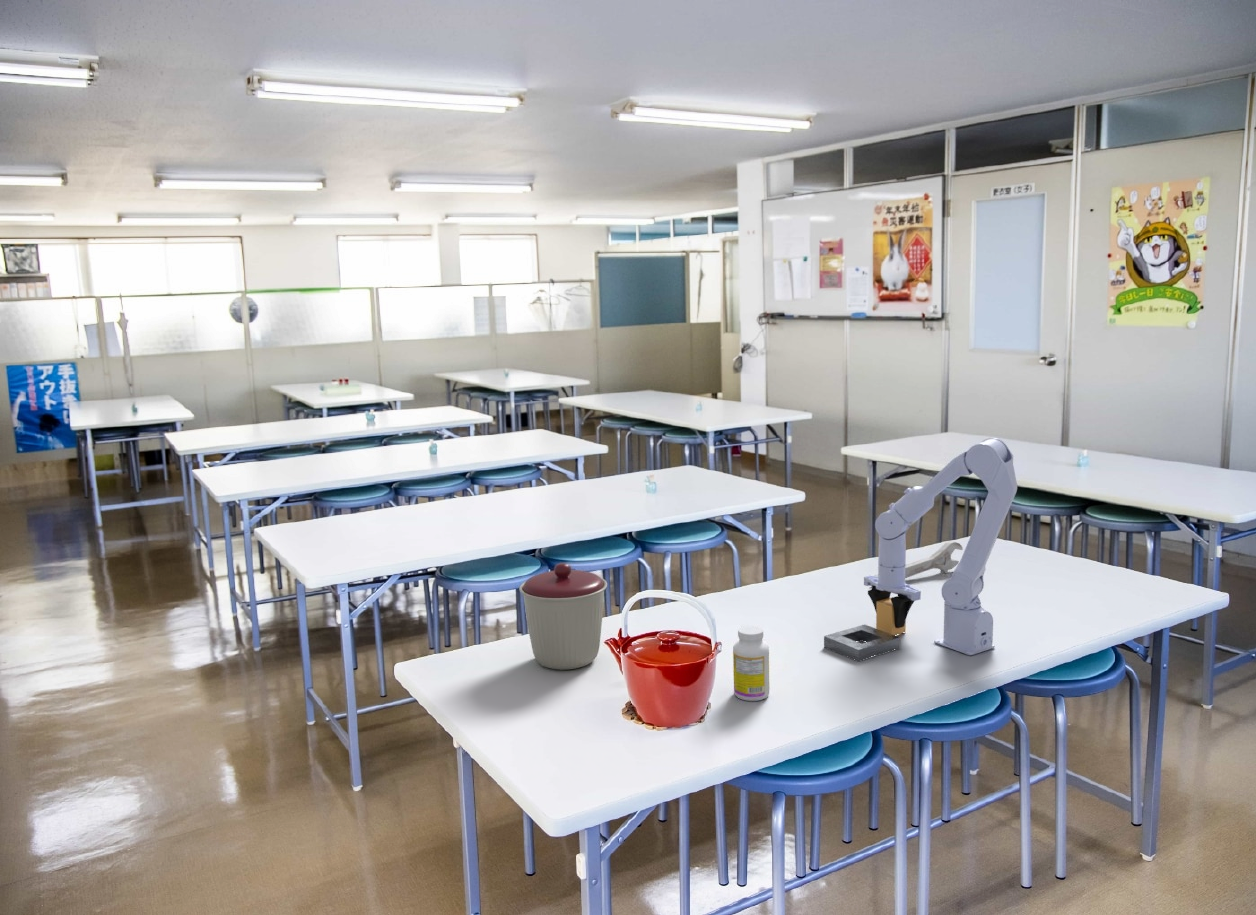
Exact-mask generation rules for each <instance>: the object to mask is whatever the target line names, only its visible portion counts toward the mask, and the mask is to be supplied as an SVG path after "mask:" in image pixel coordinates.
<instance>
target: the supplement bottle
mask: <svg viewBox="0 0 1256 915" xmlns="http://www.w3.org/2000/svg"><path fill="white" fill-rule="evenodd" d="M737 637H738V639H739V640H737V641H736V642H735V643H734V644H733V648H732V649H733V651H732V654H733V656H732V658H733V660H732V661H733V693H734V695H735V697H737V698H738V699H740V700H742V701H746V702H747V701H748V702H759V701H762V700H764V699H766V698H768V697H769V695H770V648H769V644H768V643H767V642H766V641H765V640H764V639H763V638H764V629H763V628H762V627H759V626H754V625H747V626H741V627H739V628H738V629H737Z"/></svg>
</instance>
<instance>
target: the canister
mask: <svg viewBox="0 0 1256 915" xmlns="http://www.w3.org/2000/svg"><path fill="white" fill-rule="evenodd" d="M571 566H572V565H570V564H569V563H566V562H559V563H557V564H556V565H555V566H554V568H553V570H551V571H545V572H541V573H538V574H535V575H533V576H530V577H529V578H528V579H527V580H525V581H524V582H522V583H521V584H520V586H519V588H518V589H519V592H520V593H521V595H522V596H523V602H524V603H523V604H524V611H525V616H526V623H527V629H528V633H529V634H528V635H529V639H530V640H529V641H530V643H531V649H532V653H533V656H534V658H535V660H536V661H537V662H538V664H540V666H542V667H545V668H549V669H553V670H557V671H559V670H563V671H564V670H567V671H568V670H576V669H578V668H579V669H580V668H583V667H585V666H588V665H590V664H591V663H593V661H595V659H596V658H597V657H598V654H599V650H600V645H601V644H600V643H601V635H602V624H603V614H604V613H603V612H604V610H603V609H604V598H605V596H604V595H605V590H606V589H607V588H608V582H607V580H606V579H604V578H603V577H601V576H599V575H597V574H596V573H592V572H590V571H586V570H581V569H580V570H578V569H577V570H576V569H572V567H571Z"/></svg>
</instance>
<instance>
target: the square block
mask: <svg viewBox="0 0 1256 915" xmlns="http://www.w3.org/2000/svg"><path fill="white" fill-rule="evenodd" d="M891 598H892V597H890V598H887V599H883V600H880V601H877V609H876V611H875V613H876V617H875V618H876V623H875V624H876V625H875V626H876V627H875V628H876V629H878V630H881V631H884V632H887V633H889V634H892V635H897V634H901V633H903V632H905V633H906V627H907V626H906V621H907V620H906V621H905V624H904V627H901V628H895V622H894V609H893V605H892V602H891ZM901 635H902V634H901Z"/></svg>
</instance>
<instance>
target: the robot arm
mask: <svg viewBox="0 0 1256 915" xmlns="http://www.w3.org/2000/svg"><path fill="white" fill-rule="evenodd" d="M972 474H974V475H975V476H976V477H977V478H979V480H981V482H982V484H983V485H984V487H985V488H986V490H987V491H988V492H987V495H986V497H985V500H984V502H983V505H982V508H981V510H980V512H979V515H978V517H977V520H976V522H975V525H974V527H973V528H972V529H973V530H972V532H971V533H970V536H969V539H968V541H967V543H966V546H965V549H964V551H963V553H962V557H961V559H960V560H959V563H958V564H957V565H956V566H955V569H954V570H953V573H952V575H951V576H950V577H949V578H948V579H947V580H946V581H945V582H944V583H942V584H943V585H942V587H941V597H942V599H943V600H944V606H943V607H944V611H943V637H940V638H938V639H935V640H934V641H933V642H934V643H935V644H937V645H940V646H942V647H946V648H947V649H951V650H954V651H957V652H959V653H961V654H965V655H967V656H973V655H977V654H979V653H982V652H985V651H986V652H987V651H988V650H992V649H995V648H996V646H995V644H993V640H994V638H993V636H994V618H993V614H992V613H991V612H989V611H988V610H985V609H984V608H983V607H982V604H981V603H982V602H981V600H980V598H979V595H980V594H981V592H982V591H983V589H984V587H985V583H984V576H985V572H986V570H987V569H986V565H987V562H988V561H989V558H990V555H991V554H992V550H993V548H994V545H995V544H996V541H997V539H998V537H999V534H1000V532H1001V529H1002V527H1003V525H1004V522H1005V520H1006V517H1007V516H1008V513H1009V510H1010V507H1011V506H1012V503H1013V501H1014V498H1015V496H1016V494H1017V491H1018V483H1017V478H1016V473H1015V467H1014V454H1013V453H1012V451H1011V449H1010V448H1009V446H1008V445H1007V444H1006V443H1005V442H1004V441H1003V440H1001V439H999V438H997V437H988V438H986V439H984V440H982V441H981V442H979V443H977V444H974V445H971V447H969V448H968V450H966V451H964V452H961V454H959V455H957V456H956V457H954V458H953V459H952V460H951V461H949V462H948V463H946V465H945V466H944V467H943V468H942V469H941V470H939V472H938V473H937V474H935V476H933V478H931V479H930V480H929V481H928V482H927V483H926V484H924V486H920V485H919V486H918V485H916V486H915V485H914V486H913V487H908V488H906V489H905V490H904V491H903V493H904V495H902V496H901V497H900V498H899V499H898V500H897V501H896V502H895V503H894V502H891V503H890V504H889V505H888V507H889V509H888V510H887V511H884V512H881V513H880V514H879V515H878V517H877V518H876V519H875V521H874V522H875V524H874V528H875V530H876V533H877V534H878V556H877V557H878V559H877V560H878V567H877V571H878V572H877V574H878V577H875V575H871V574H870V575H866V576H864V577H863V586H866V587H869V586H870V587H871V589H869V590H867V595H868V596H869V598H870V600H871V603H872V604H873V607H874V611H875V612H876V609H877V601H880V600H883V599H887V598H891V602H892V605H893V609H894V622H895V628H901V627H904V624H905V621H907V617H908V614H909V611H910V610H911V608H912V606H913V604H914V602H915V601H919V600H921V596H922V595H921V593H922V591H921V590H920V589H916V588H915V587H913V586H911V585H910V584H908V583H906V578H905V566H906V565H907V564H906V556H907V555H906V554H907V553H906V552H907V550H906V548H907V544H906V542H907V539H906V538H907V537H906V536H907V531H908V530H909V529H910V527H911V526H912V525H914V524H915V523H917V521H919V520H920V519H921V518H922V517H923V516H924V515H926V513H927V512H929V511H930V510H931V509H932V508H933V507H934V506H935V498H936V496H938V495H939V494H940V493H941V492H943V491H944V490H945V489H947V488H948V487H949V486H950V485H952V484H953V483H954V482H956V480H958V479H959V478H960V477H963V476H970V475H972ZM891 594H893V595H897V596H893V597H891Z"/></svg>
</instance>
